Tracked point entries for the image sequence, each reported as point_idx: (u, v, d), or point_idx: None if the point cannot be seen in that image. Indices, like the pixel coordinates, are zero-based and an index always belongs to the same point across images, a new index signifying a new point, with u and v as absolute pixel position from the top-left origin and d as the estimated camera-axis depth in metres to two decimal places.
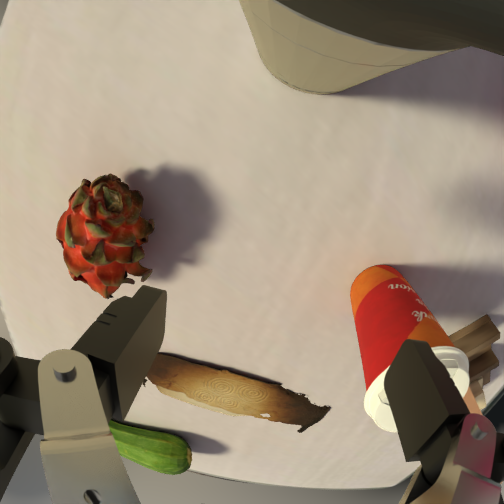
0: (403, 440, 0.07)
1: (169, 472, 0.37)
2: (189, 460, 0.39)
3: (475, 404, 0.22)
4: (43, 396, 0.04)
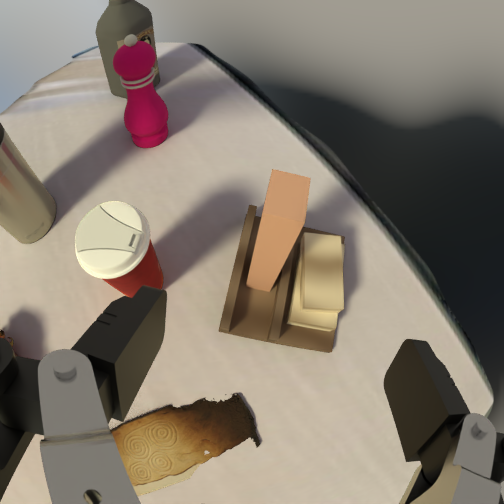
0: (403, 440, 0.07)
1: None
2: None
3: None
4: (43, 396, 0.04)
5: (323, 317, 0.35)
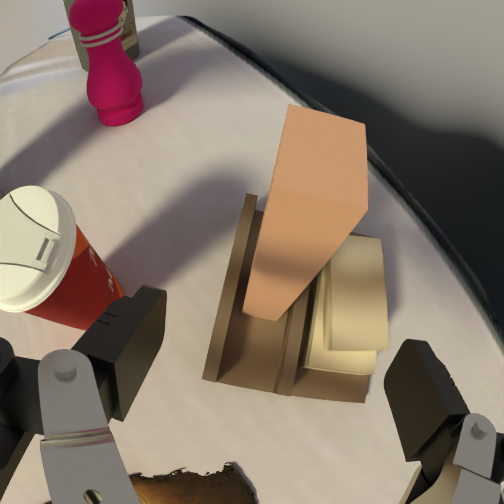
0: (403, 440, 0.07)
1: None
2: None
3: (261, 227, 0.19)
4: (43, 396, 0.04)
5: (356, 359, 0.22)
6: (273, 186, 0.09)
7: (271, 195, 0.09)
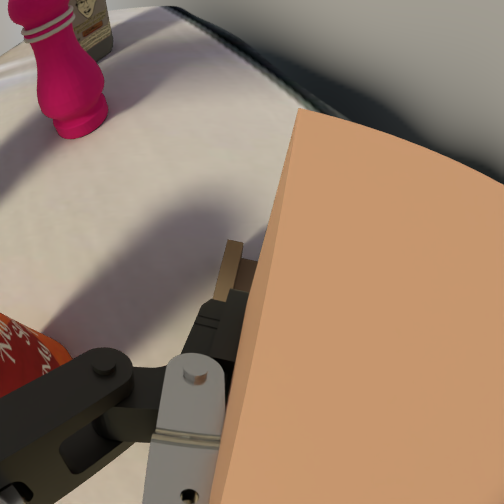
0: None
1: None
2: None
3: None
4: (165, 392, 0.05)
5: None
6: None
7: None
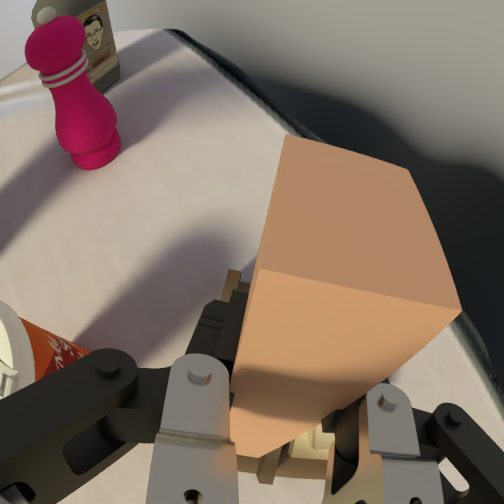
0: None
1: None
2: None
3: None
4: (170, 393, 0.05)
5: None
6: (262, 269, 0.04)
7: (256, 293, 0.04)
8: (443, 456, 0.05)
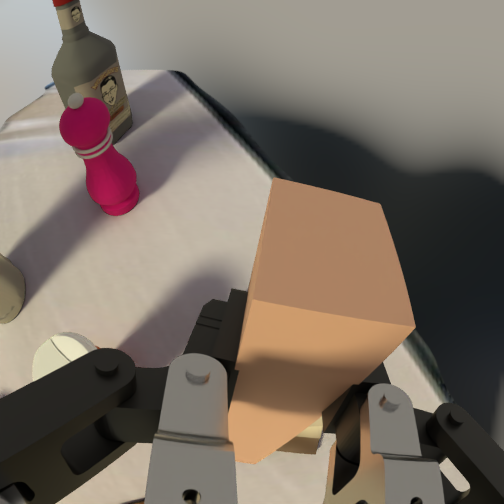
0: (323, 410, 0.08)
1: None
2: None
3: None
4: (168, 392, 0.05)
5: (307, 428, 0.29)
6: (254, 299, 0.05)
7: (250, 316, 0.05)
8: (444, 456, 0.05)
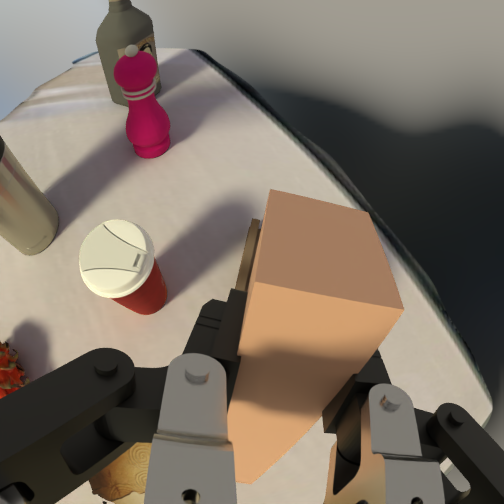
0: (323, 411, 0.08)
1: None
2: None
3: None
4: (167, 392, 0.05)
5: None
6: (256, 282, 0.05)
7: (252, 301, 0.06)
8: (445, 456, 0.05)
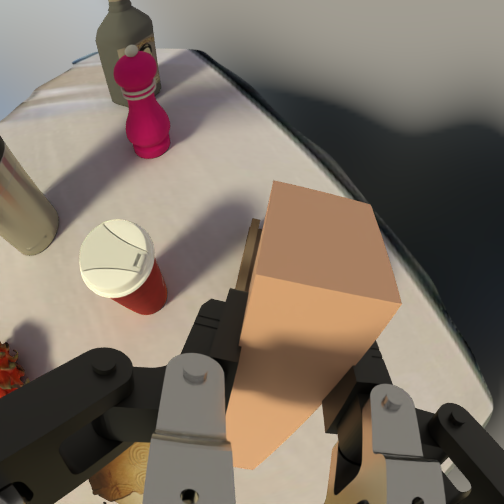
0: (325, 411, 0.08)
1: None
2: None
3: None
4: (165, 392, 0.05)
5: None
6: (257, 274, 0.06)
7: (253, 292, 0.06)
8: (446, 456, 0.05)
